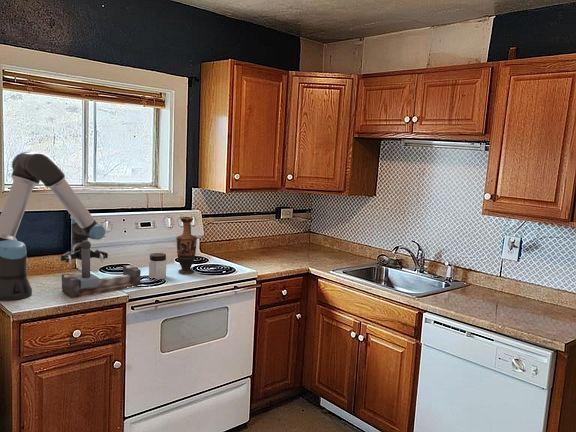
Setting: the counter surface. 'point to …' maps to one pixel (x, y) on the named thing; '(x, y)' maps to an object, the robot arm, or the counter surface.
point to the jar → (157, 265)
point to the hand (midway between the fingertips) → (86, 260)
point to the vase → (186, 247)
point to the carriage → (86, 267)
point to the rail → (101, 283)
